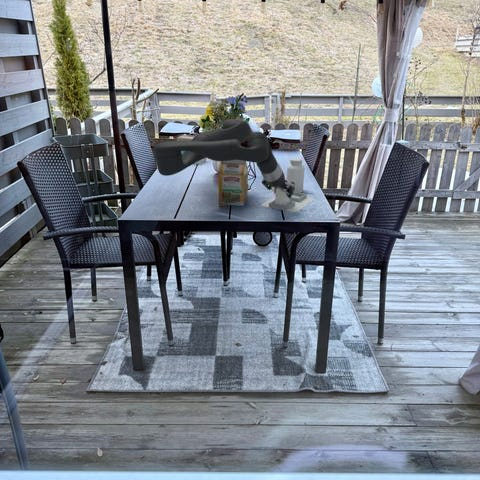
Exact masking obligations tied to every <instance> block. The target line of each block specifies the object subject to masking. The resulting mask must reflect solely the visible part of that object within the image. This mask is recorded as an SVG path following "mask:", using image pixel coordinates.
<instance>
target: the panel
mask: <svg viewBox="0 0 480 480" xmlns="http://www.w3.org/2000/svg"><path fill="white" fill-rule="evenodd" d="M315 199H316V198H313V197H308V196H307V193H304V192H300V193H298V192H293V194H292V197H291V198H290V201H289V204H288V205H286V206H284V205H279V204H275V196H274V197H271V198H270V199H268V200H266V201H265V202H263V203H261V204H259V206H261V207H265V208H269V209H270V208H271V209H276V210H280V211H286V212H290V213H297V212H298V211H300V210H301V209H302V208H304V207H305V206H307V205H309V204H310V203H312V202H313V201H314V200H315Z"/></svg>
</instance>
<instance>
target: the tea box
mask: <svg viewBox="0 0 480 480" xmlns="http://www.w3.org/2000/svg"><path fill="white" fill-rule="evenodd" d="M195 136H196V135H188V134H182V135H180V136H178V137H176V138H175V139H176V140H175V141H191V140H192V139H193V138H194V137H195ZM184 152H185V151H181V154H182V155H183V153H184ZM203 162H204V163H206V162H207V158H204V159H202V160H200V161H197V162H196V163H194V164H193V165H199V164H200V165H202V164H204V163H203Z"/></svg>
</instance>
